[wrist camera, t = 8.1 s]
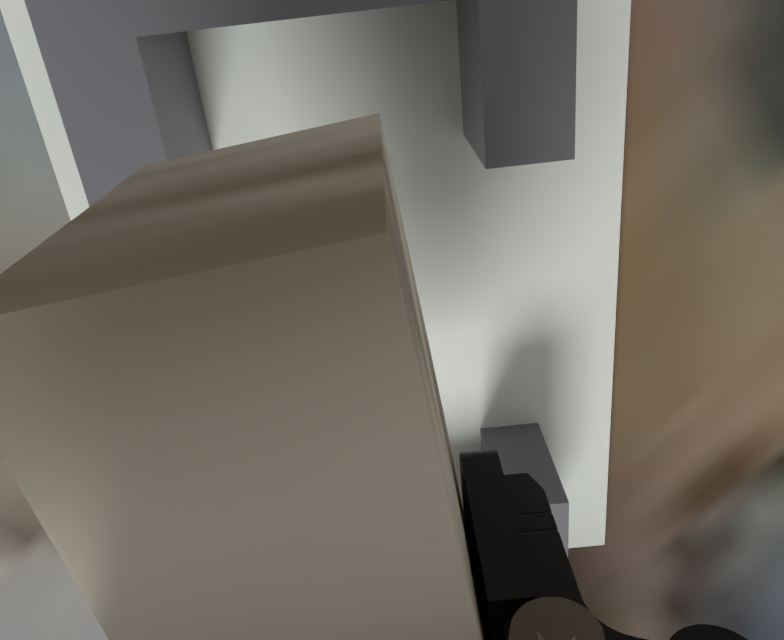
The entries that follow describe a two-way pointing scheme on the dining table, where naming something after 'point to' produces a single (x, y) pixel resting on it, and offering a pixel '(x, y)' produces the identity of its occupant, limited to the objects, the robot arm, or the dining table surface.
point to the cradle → (400, 174)
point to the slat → (240, 402)
